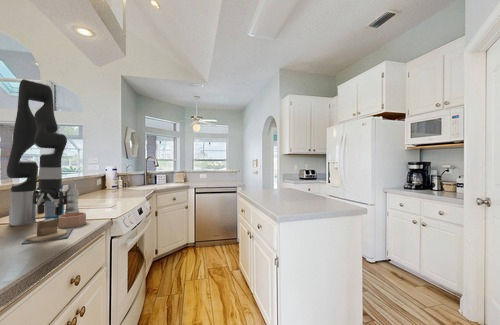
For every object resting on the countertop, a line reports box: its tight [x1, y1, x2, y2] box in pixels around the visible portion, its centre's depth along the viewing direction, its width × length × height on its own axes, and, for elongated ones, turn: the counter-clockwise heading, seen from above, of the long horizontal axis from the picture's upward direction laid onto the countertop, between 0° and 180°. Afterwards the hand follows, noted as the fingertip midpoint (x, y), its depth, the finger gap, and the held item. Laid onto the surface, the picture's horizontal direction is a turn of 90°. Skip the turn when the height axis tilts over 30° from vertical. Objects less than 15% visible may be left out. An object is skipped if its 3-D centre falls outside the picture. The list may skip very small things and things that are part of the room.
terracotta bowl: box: [57, 211, 87, 229], centre depth 114 cm, size 11×11×5 cm
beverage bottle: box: [44, 183, 65, 220], centre depth 125 cm, size 8×8×20 cm
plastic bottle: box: [64, 183, 80, 214], centre depth 126 cm, size 6×7×20 cm
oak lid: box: [25, 218, 67, 241], centre depth 94 cm, size 13×13×7 cm
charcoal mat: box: [21, 228, 74, 245], centre depth 95 cm, size 14×14×1 cm
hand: (49, 214), depth 96 cm, fingers open, 8 cm apart
